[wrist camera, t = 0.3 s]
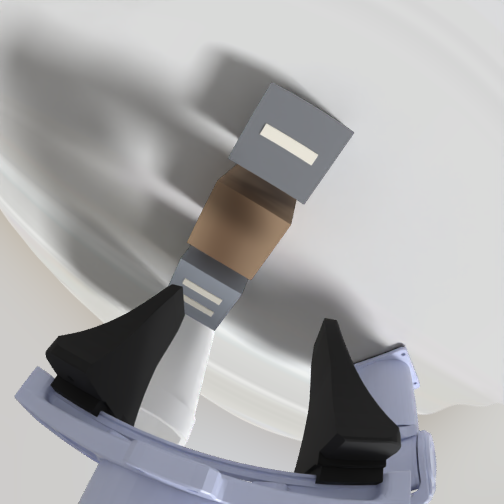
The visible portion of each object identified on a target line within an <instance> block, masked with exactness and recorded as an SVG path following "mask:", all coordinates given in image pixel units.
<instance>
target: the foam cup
mask: <svg viewBox="0 0 504 504" xmlns="http://www.w3.org/2000/svg"><path fill="white" fill-rule="evenodd" d="M214 333H215V332H214V330H212V329H210V328H209V327H207V326H205V325H203V324H201V323H200V322H198V321H196V320H194V319H193V318H191V317H189V316H188V315H186V314H185V316H184V319H183V321H182V323H181V326H180V328H179V330H178V332H177V334H176V335H175V337H174V339H173V340H172V342H171V344H170V345H169V347H168V349H167V350H166V352H165V354H164V355H163V357H162V358H161V360H160V362H159V364H158V365H157V367H156V369H155V371H154V374H153V376H152V378H151V380H150V383H149V385H148V388H147V390H146V392H145V395H144V398H143V400H142V403H141V406H140V409H139V411H138V415H137V418H136V421H135V424H134V427H135V428H138V429H140V430H142V431H145V432H147V433H149V434H152V435H154V436H157V437H159V438H162V439H164V440H167V441H169V442H172V443H175V444H178V445H180V446H185V445H186V443H187V441H188V438H189V436H190V433H191V431H192V428H193V425H194V423H195V420H196V418H195V417H194V416H195V412H196V407H197V403H198V399H199V395H200V391H201V387H202V383H203V379H204V374H205V370H206V366H207V362H208V358H209V354H210V350H211V346H212V342H213V338H214Z"/></svg>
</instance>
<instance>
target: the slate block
mask: <svg viewBox="0 0 504 504" xmlns="http://www.w3.org/2000/svg"><path fill="white" fill-rule="evenodd" d="M247 280H248V278H246V277H244V276H242V275H241V274H239V273H237V272H236V271H234V270H232V269H230V268H229V267H227V266H225V265H224V264H222V263H220V262H219V261H217V260H215V259H214V258H212V257H210V256H209V255H207V254H205V253H204V252H202V251H200V250H199V249H197V248H195V247H194V246H192V245H191V246H190V247H189V249H188V250H187V251H186V252H185V254H184V255H183V256H182V257H181V259H180V261H179V263H178V265H177V267H176V270H175V272H174V274H173V277H172V279H171V281H170V283H169V286H170V285H171V284H175V285H178V286H182V287H183V296H184V310H185V314H186V315H188V316H189V317H191V318H193V319H194V320H196V321H198V322H200V323H201V324H203V325H205V326H207V327H209V328H210V329H212V330H214V331H215V330H216V328H217V327H218V326H219V324H220V323H221V322H222V320H223V319H224V318H225V316H226V315H227V314H228V312H229V311H230V310H231V308H232V307H233V306H234V304H235V303H236V302H237V300H238V299H239V297H240V296H241V295H242V293H243V290H244V287H245V285H246V282H247Z"/></svg>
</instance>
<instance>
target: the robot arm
mask: <svg viewBox="0 0 504 504" xmlns="http://www.w3.org/2000/svg"><path fill="white" fill-rule="evenodd" d="M184 316H185V310H184V296H183V287H182V286H178V285H175V284H171V285H170V286H168V287H167V288H165V289H164V290H162V291H161V292H159V293H158V294H157V295H155V296H154V297H152V298H151V299H149V300H148V301H146V302H145V303H143V304H141V305H140V306H138V307H136V308H135V309H133V310H131V311H130V312H128V313H126V314H124V315H122V316H120V317H118V318H116V319H114V320H112V321H110V322H107V323H105V324H102V325H100V326H97V327H94V328H91V329H88V330H85V331H81V332H77V333H72V334H67V335H62V336H58V338H57V339H56V340H55V341H54V342H53V343H52V345H51V346H50V347H49V348H48V349H47V351H46V358H47V360H48V361H49V363H50V364H51V366H52V368H53V369H54V371H55V372H56V374H57V376H56V378H55V379H54V378H53V377H52V376H51V375H50V374H49V373H47V372H46V371H44V370H43V369H41V368H40V367H38V366H37V367H36V368H35V370H34V371H33V372H32V373H31V375H30V376H29V377H28V379H27V380H26V381H25V383H24V384H23V385H22V387H21V388H20V390H19V391H18V392H17V393H16V395H15V398H16V400H18V402H19V403H20V404H21V405H22V406H23V407H24V408H25V409H26V410H27V411H28V412H29V413H30V414H31V415H32V416H33V417H34V418H35V419H36V420H37V421H39V422H40V423H41V424H42V425H44V426H45V427H46V428H48V429H49V430H50V431H52V432H53V433H54V434H56V435H57V436H58V437H60V438H61V439H62V440H64V441H65V442H66V443H68V444H69V445H71V446H72V447H74V448H75V449H77V450H78V451H80V452H81V453H83V454H84V455H86V456H87V457H89V458H90V459H92V460H94V461H96V462H97V463H99V464H98V466H97V468H96V470H95V472H94V474H93V476H92V478H91V480H90V481H89V483H88V485H87V487H86V489H85V491H84V493H83V495H82V497H81V499H80V501H79V503H78V504H428V503H429V502H430V501H431V499H432V497H433V495H434V493H435V490H436V482H435V481H436V480H435V478H436V456H435V448H434V443H433V439H432V435H431V434H430V433H428V432H427V431H426V430H422V431H419V426H418V417H417V409H416V401H415V394H414V389H417V388H419V387H420V383H419V380H418V377H417V375H416V372H415V369H414V367H413V364H412V362H411V359H410V357H409V354H408V352H407V349H406V347H400V348H398V349H395V350H392V351H390V352H387V353H385V354H382V355H379V356H376V357H374V358H371V359H368V360H365V361H362V362H359V363H356V364H353V362H352V360H351V357H350V355H349V353H348V350H347V348H346V345H345V343H344V340H343V337H342V334H341V331H340V328H339V325H338V322H337V321H336V320H332V319H326V318H324V321H323V323H322V326H321V329H320V331H319V334H318V337H317V339H316V342H315V344H314V349H313V356H312V362H311V383H310V401H309V410H308V415H307V421H306V426H305V431H304V435H303V440H302V444H301V448H300V453H299V456H298V460H297V464H296V468H295V471H294V473H292V472H285V471H279V470H273V469H267V468H262V467H256V466H252V465H247V464H242V463H238V462H234V461H230V460H226V459H222V458H219V457H215V456H211V455H208V454H205V453H201V452H198V451H195V450H192V449H189V448H186V447H183V446H180V445H178V444H175V443H172V442H169V441H167V440H164V439H162V438H159V437H157V436H154V435H152V434H149V433H147V432H145V431H142V430H140V429H138V428H135V427H134V424H135V421H136V418H137V415H138V411H139V409H140V406H141V403H142V400H143V398H144V395H145V392H146V390H147V388H148V385H149V383H150V380H151V378H152V376H153V374H154V371H155V369H156V367H157V365H158V364H159V362H160V360H161V358H162V357H163V355H164V354H165V352H166V350H167V349H168V347H169V345H170V344H171V342H172V340H173V339H174V337H175V335H176V334H177V332H178V330H179V328H180V326H181V323H182V321H183V319H184ZM244 480H245V481H244ZM247 481H250V482H247ZM251 482H252V483H251ZM416 489H418V490H417V491H416V492H414V493H412V494H411V491H412V490H416Z"/></svg>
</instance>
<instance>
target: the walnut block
mask: <svg viewBox="0 0 504 504" xmlns="http://www.w3.org/2000/svg"><path fill="white" fill-rule="evenodd" d="M295 204H296V199H294V198H293V197H291V196H290V195H288V194H287V193H285V192H283V191H282V190H280V189H278V188H277V187H275V186H274V185H272V184H270V183H269V182H267V181H265V180H264V179H262V178H260V177H259V176H257V175H255V174H254V173H252V172H250V171H248V170H247V169H245V168H243V167H242V166H240V165H238V164H237V165H236V166H234V167H233V168H232V169H231V170H229V171H228V172H227V173H226V174H225V175H223V176H222V177H221V178H220V179H219V180H218V181H217V182H216V184H215V186H214V188H213V190H212V192H211V194H210V196H209V198H208V200H207V202H206V204H205V206H204V208H203V210H202V212H201V214H200V216H199V218H198V220H197V222H196V225H195V227H194V229H193V231H192V233H191V235H190V237H189V239H188V241H187V243H189V244H190V245H192V246H194V247H195V248H197V249H199V250H200V251H202V252H204V253H205V254H207V255H209V256H210V257H212V258H214V259H215V260H217V261H219V262H220V263H222V264H224V265H225V266H227V267H229V268H230V269H232V270H234V271H236V272H237V273H239V274H241V275H242V276H244V277H246V278H248V279H249V280H251V279H252V278H253V277H254V275H255V274H256V273H257V271H258V270H259V268H260V267H261V266H262V264H263V263H264V262H265V260H266V259H267V257H268V256H269V255H270V253H271V252H272V251H273V249H274V248H275V246H276V245H277V244H278V242H279V241H280V239H281V238H282V237H283V235H284V234H285V232H286V231H287V230H288V228H289V227H290V225H291V223H292V218H293V213H294V209H295Z"/></svg>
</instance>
